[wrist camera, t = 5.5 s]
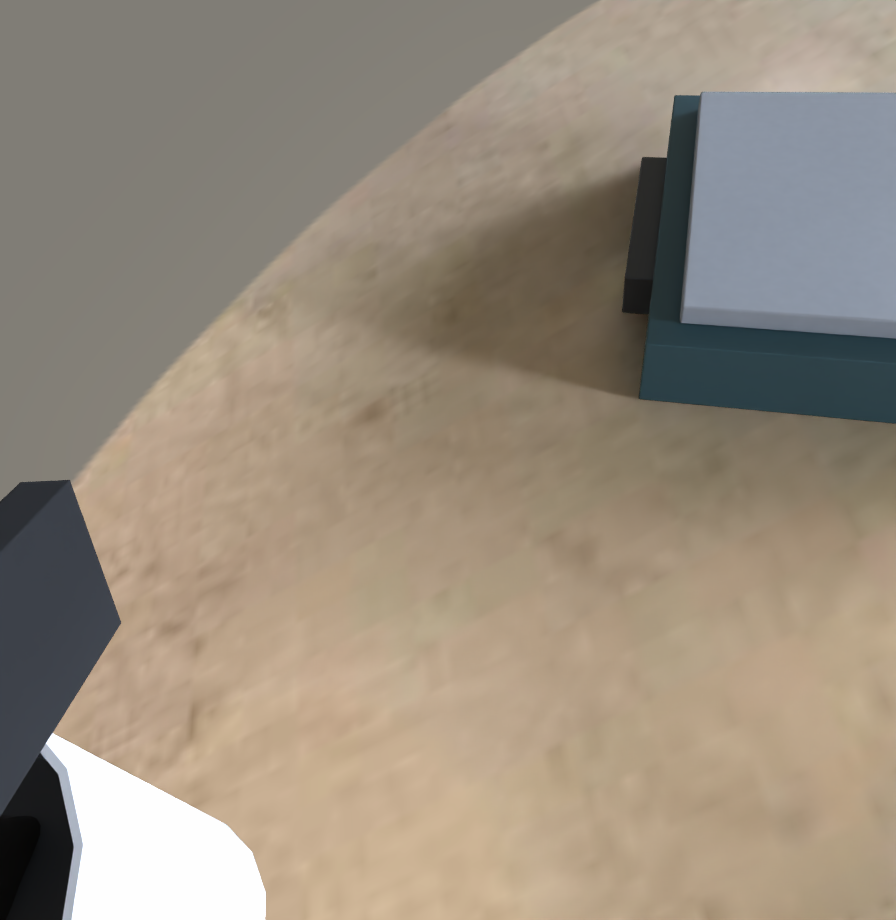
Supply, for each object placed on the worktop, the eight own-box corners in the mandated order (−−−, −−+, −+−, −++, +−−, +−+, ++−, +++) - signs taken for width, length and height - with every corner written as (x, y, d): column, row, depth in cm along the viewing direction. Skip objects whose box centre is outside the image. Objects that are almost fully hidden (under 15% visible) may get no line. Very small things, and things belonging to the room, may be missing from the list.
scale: (610, 396, 28) (616, 325, 24) (644, 156, 35) (652, 76, 32) (1086, 442, 24) (1164, 365, 21) (1015, 164, 31) (1066, 76, 28)
